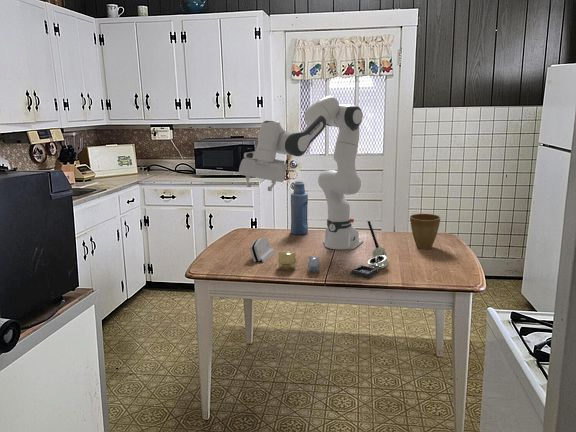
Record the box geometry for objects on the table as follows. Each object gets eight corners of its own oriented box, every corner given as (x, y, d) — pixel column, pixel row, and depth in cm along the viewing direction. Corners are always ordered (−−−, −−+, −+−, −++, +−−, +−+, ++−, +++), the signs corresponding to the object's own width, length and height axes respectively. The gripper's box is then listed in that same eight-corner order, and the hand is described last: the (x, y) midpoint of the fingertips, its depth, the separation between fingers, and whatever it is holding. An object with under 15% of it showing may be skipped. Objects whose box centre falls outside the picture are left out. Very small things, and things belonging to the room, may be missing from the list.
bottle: (296, 229, 285) (295, 179, 278) (311, 231, 280) (310, 180, 273) (287, 233, 277) (286, 181, 270) (302, 235, 272) (302, 183, 265)
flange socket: (360, 268, 218) (360, 264, 218) (378, 273, 212) (378, 268, 212) (349, 274, 211) (350, 269, 211) (368, 279, 206) (368, 274, 205)
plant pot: (436, 243, 254) (438, 213, 250) (440, 252, 240) (442, 220, 236) (407, 242, 257) (408, 212, 253) (409, 250, 243) (410, 219, 239)
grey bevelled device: (263, 262, 228) (256, 243, 227) (254, 265, 230) (247, 245, 229) (275, 252, 244) (268, 233, 243) (267, 254, 246) (260, 236, 244)
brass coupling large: (286, 263, 227) (285, 249, 225) (299, 267, 222) (299, 252, 220) (274, 268, 221) (274, 253, 219) (288, 272, 216) (288, 257, 214)
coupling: (312, 267, 221) (312, 255, 219) (322, 270, 217) (322, 257, 216) (304, 271, 216) (304, 258, 215) (315, 274, 213) (315, 261, 212)
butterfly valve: (388, 272, 213) (390, 257, 228) (374, 231, 208) (377, 218, 224) (369, 276, 216) (373, 261, 231) (355, 236, 211) (360, 223, 227)
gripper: (289, 162, 210) (283, 193, 211) (245, 154, 215) (239, 185, 215) (286, 160, 204) (280, 193, 205) (240, 152, 208) (234, 184, 209)
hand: (259, 189), depth 210 cm, fingers open, 8 cm apart
